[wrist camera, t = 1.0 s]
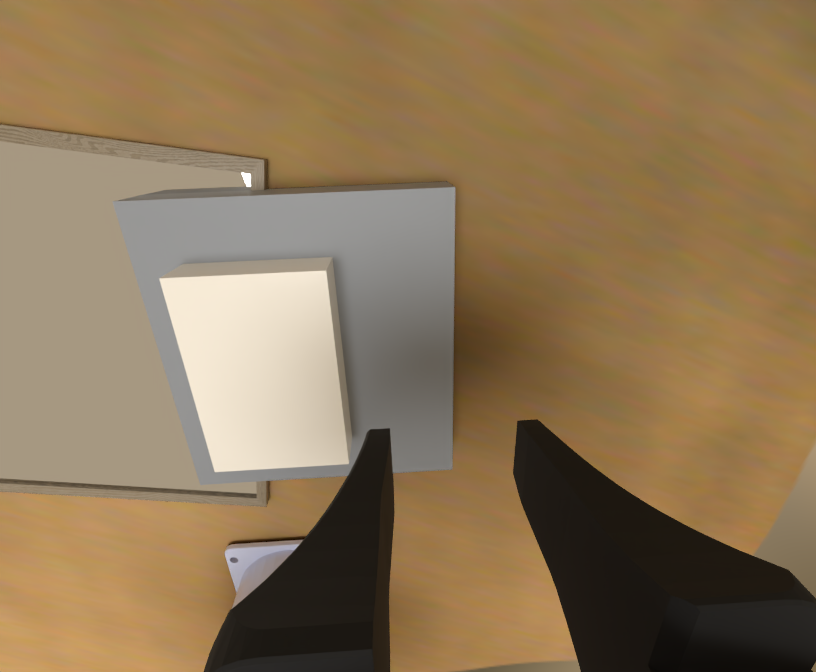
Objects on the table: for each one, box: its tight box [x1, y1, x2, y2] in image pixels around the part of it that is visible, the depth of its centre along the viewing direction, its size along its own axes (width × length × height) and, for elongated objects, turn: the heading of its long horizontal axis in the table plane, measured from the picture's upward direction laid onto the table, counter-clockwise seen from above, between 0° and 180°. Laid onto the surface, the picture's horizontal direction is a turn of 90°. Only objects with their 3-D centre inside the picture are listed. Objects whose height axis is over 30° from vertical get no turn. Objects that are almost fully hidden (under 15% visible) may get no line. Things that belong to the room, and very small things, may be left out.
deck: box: [112, 181, 455, 485], centre depth 20 cm, size 14×13×2 cm
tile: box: [159, 257, 352, 472], centre depth 18 cm, size 9×6×2 cm, turn 2°
